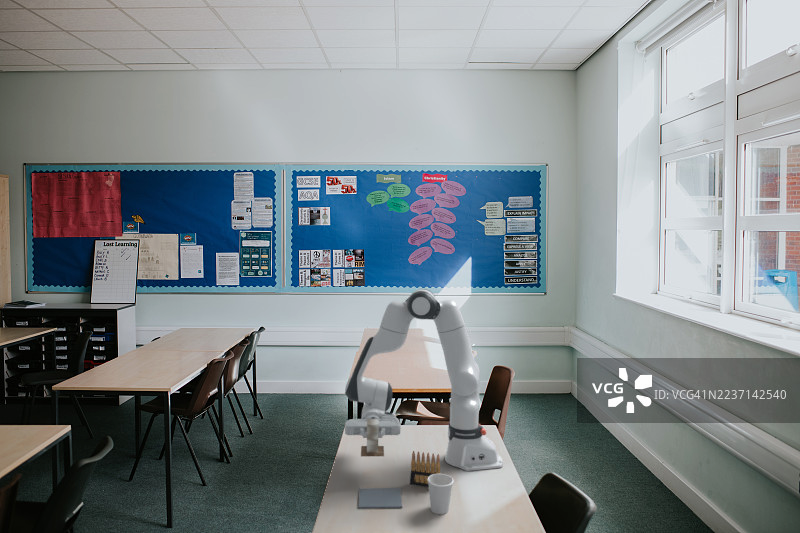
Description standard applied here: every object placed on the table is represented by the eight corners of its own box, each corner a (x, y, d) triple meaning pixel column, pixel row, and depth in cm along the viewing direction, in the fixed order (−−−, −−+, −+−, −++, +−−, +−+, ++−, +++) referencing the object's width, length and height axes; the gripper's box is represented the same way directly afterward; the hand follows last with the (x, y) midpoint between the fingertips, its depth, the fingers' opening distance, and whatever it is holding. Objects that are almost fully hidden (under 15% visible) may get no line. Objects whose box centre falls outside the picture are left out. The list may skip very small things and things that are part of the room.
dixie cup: (434, 518, 161) (434, 487, 160) (422, 505, 168) (422, 475, 168) (457, 513, 164) (458, 482, 163) (444, 500, 172) (445, 471, 171)
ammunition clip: (409, 484, 182) (410, 451, 181) (410, 482, 184) (411, 449, 183) (439, 489, 180) (440, 455, 179) (440, 486, 181) (441, 453, 181)
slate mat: (400, 489, 178) (400, 488, 178) (402, 508, 166) (402, 506, 166) (359, 490, 177) (359, 488, 177) (358, 508, 166) (358, 506, 165)
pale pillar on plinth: (383, 449, 187) (384, 418, 186) (383, 456, 181) (384, 425, 180) (361, 449, 186) (361, 418, 186) (360, 456, 180) (361, 425, 180)
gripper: (345, 413, 195) (343, 427, 181) (399, 413, 196) (401, 427, 183) (345, 429, 196) (343, 444, 182) (399, 429, 197) (401, 444, 183)
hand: (372, 435), depth 182 cm, fingers closed on pale pillar on plinth, 4 cm apart
